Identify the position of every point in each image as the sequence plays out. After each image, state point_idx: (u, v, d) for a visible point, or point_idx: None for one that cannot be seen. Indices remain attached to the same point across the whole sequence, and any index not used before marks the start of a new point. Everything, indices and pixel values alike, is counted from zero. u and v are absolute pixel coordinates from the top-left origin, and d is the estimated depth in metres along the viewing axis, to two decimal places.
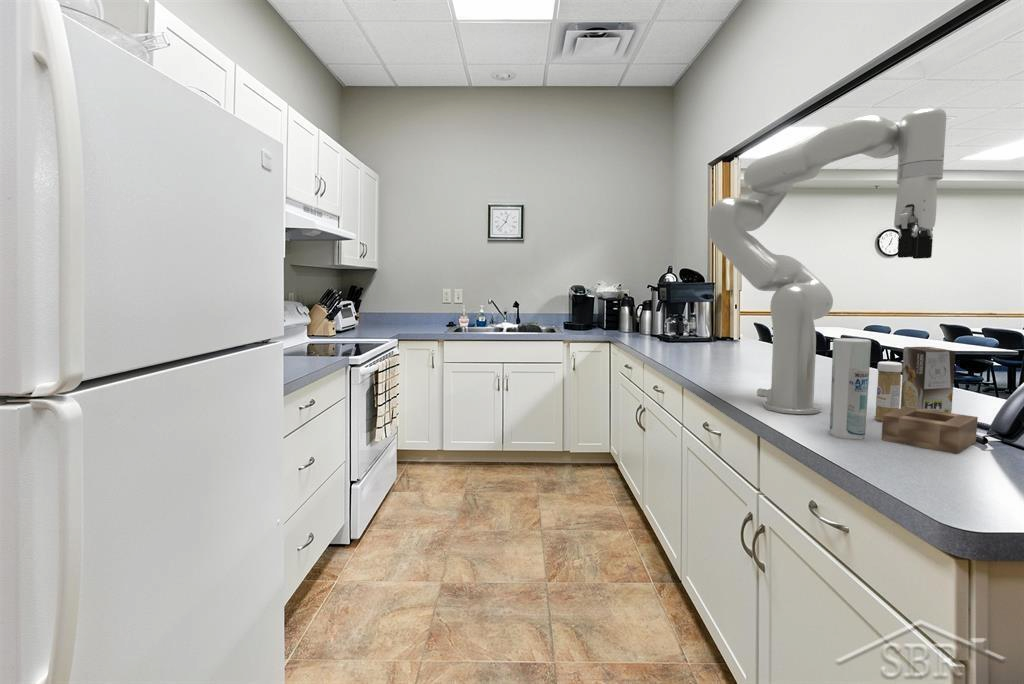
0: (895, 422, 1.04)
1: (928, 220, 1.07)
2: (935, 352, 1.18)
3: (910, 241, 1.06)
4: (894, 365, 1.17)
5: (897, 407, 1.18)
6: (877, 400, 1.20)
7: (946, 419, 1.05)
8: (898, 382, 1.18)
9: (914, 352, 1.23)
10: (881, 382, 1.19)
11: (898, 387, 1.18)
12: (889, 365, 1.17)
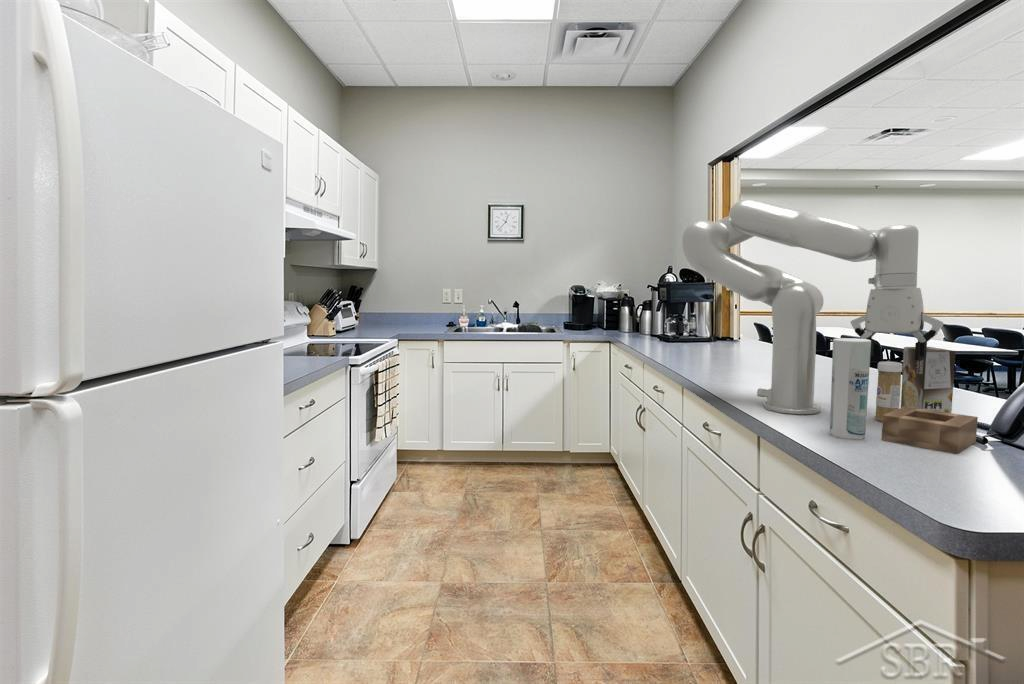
0: (895, 422, 1.04)
1: None
2: (935, 352, 1.18)
3: None
4: (894, 365, 1.17)
5: (897, 407, 1.18)
6: (877, 400, 1.20)
7: (946, 419, 1.05)
8: (898, 382, 1.18)
9: (914, 352, 1.23)
10: (881, 382, 1.19)
11: (898, 387, 1.18)
12: (889, 365, 1.17)
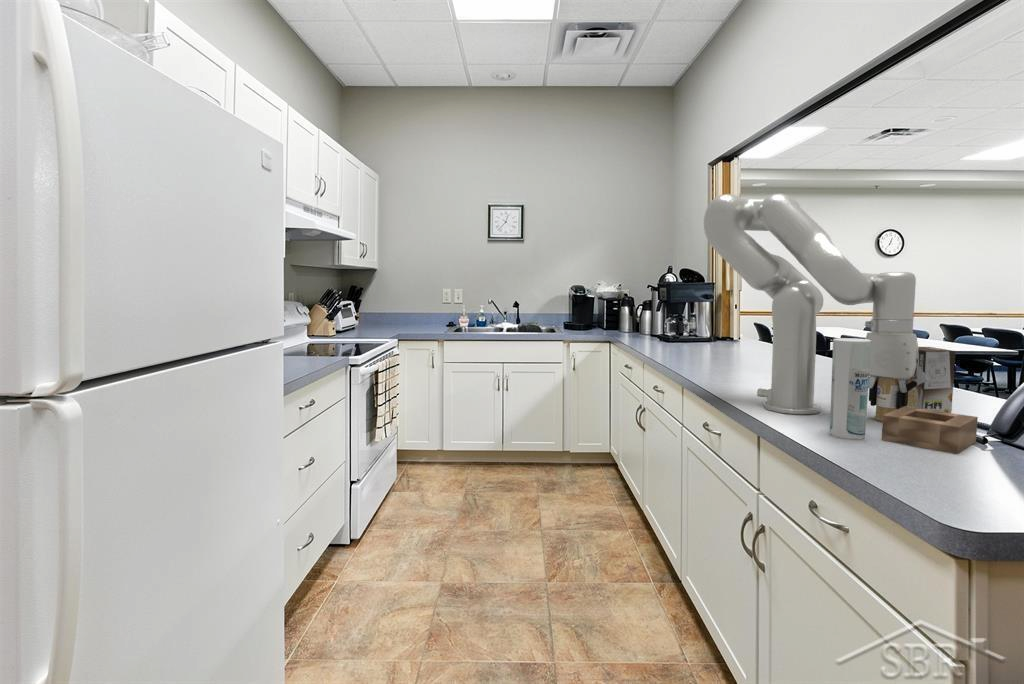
0: (895, 422, 1.04)
1: None
2: (935, 352, 1.18)
3: None
4: None
5: None
6: (877, 400, 1.20)
7: (946, 419, 1.05)
8: (898, 382, 1.18)
9: None
10: (881, 382, 1.19)
11: (898, 387, 1.18)
12: None
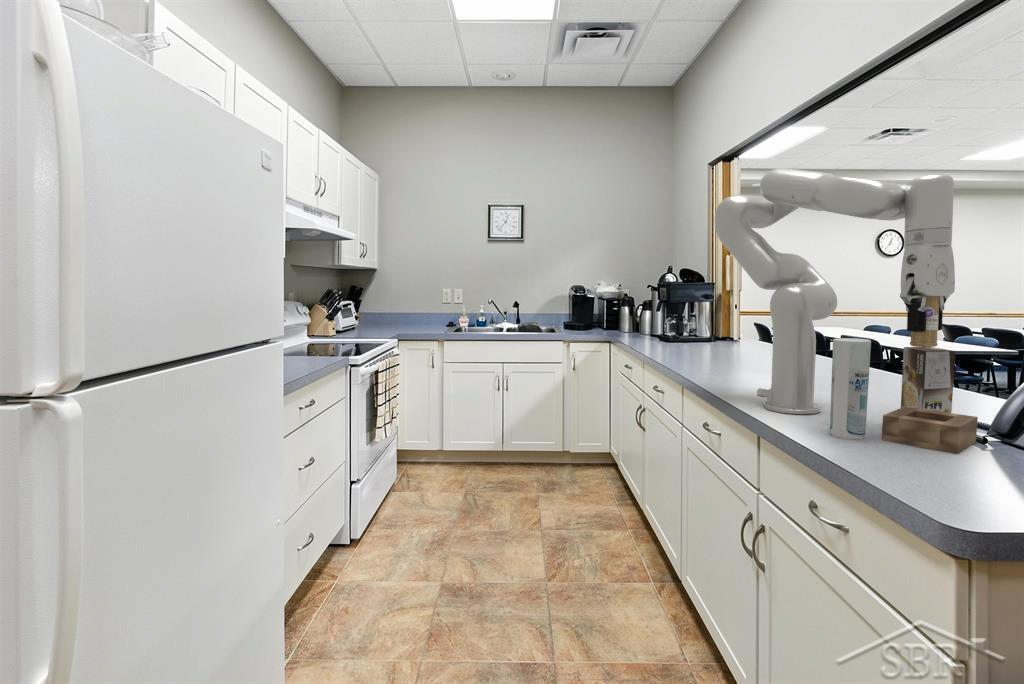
0: (895, 422, 1.04)
1: None
2: (935, 352, 1.18)
3: None
4: None
5: None
6: (927, 324, 1.05)
7: (946, 419, 1.05)
8: None
9: (914, 352, 1.23)
10: (933, 302, 1.04)
11: None
12: None
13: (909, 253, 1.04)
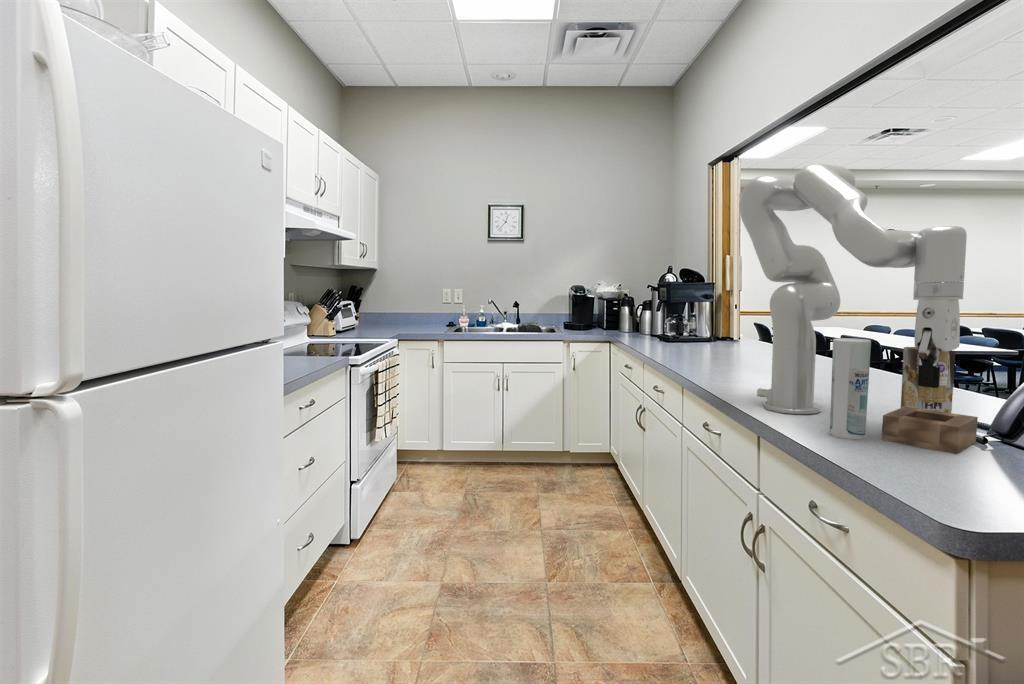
0: (895, 422, 1.04)
1: None
2: None
3: None
4: None
5: None
6: None
7: (946, 419, 1.05)
8: None
9: (914, 352, 1.23)
10: (945, 357, 1.01)
11: None
12: None
13: (925, 306, 1.00)
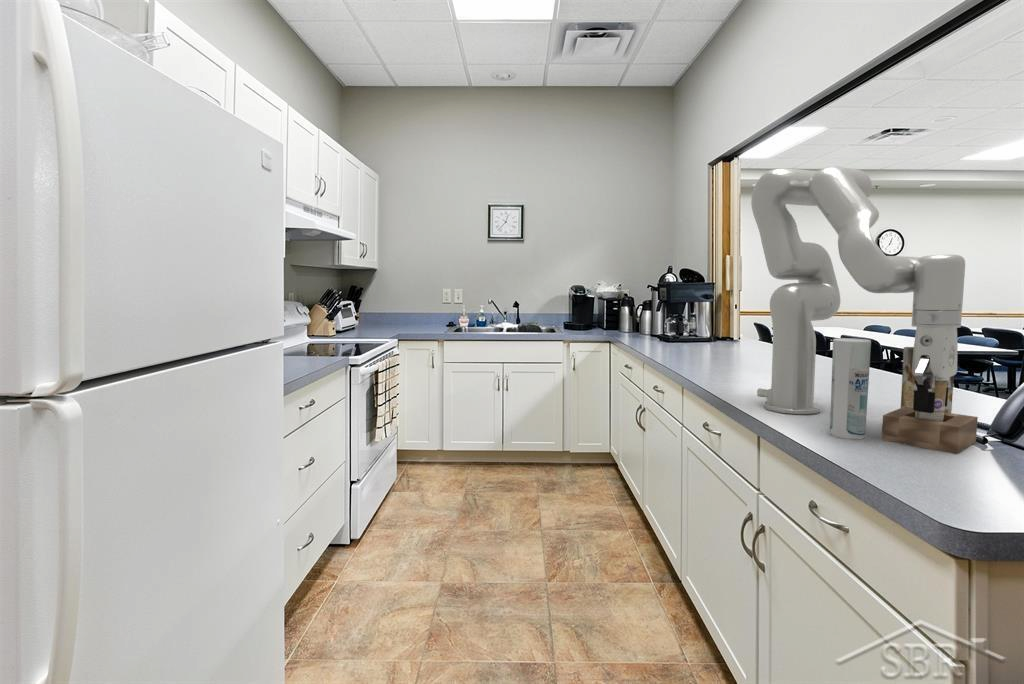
0: (895, 422, 1.04)
1: None
2: None
3: None
4: None
5: None
6: (936, 415, 1.02)
7: (946, 419, 1.05)
8: None
9: None
10: (943, 394, 1.01)
11: None
12: None
13: (923, 334, 1.00)
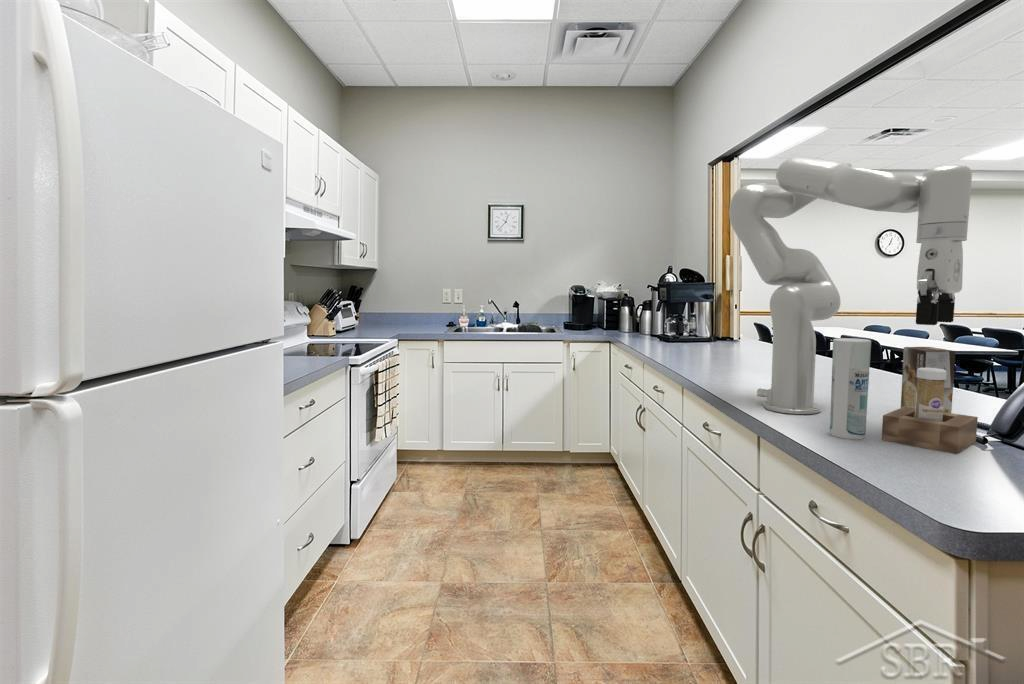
0: (895, 422, 1.04)
1: None
2: (935, 352, 1.18)
3: None
4: None
5: None
6: (935, 415, 1.02)
7: (946, 419, 1.05)
8: None
9: (914, 352, 1.23)
10: (941, 393, 1.02)
11: None
12: None
13: (928, 247, 0.98)
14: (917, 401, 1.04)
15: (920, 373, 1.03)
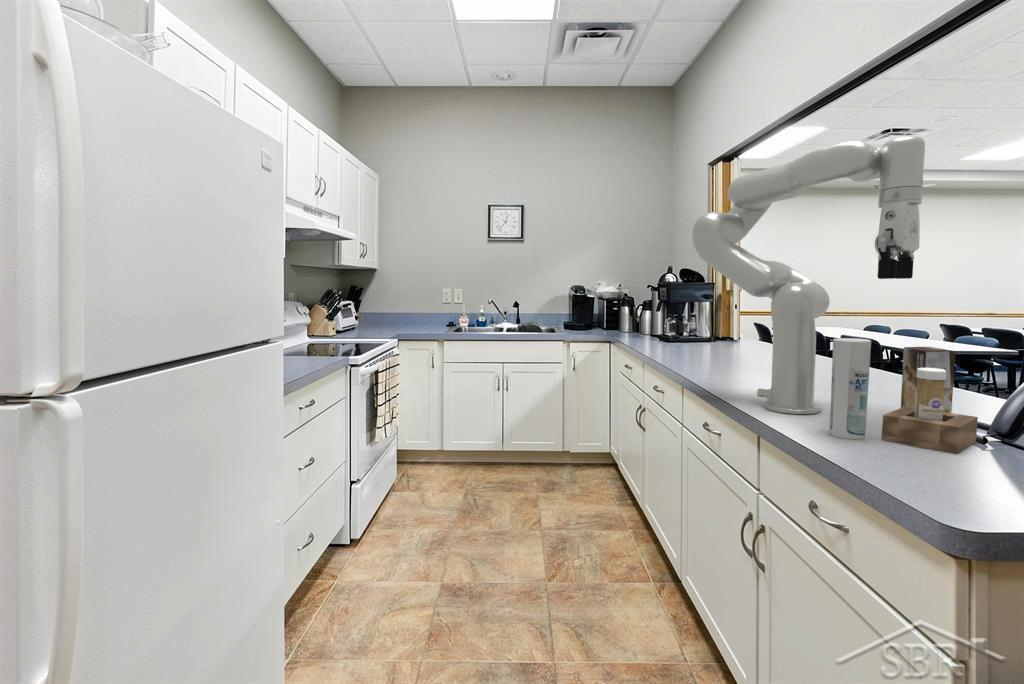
0: (895, 422, 1.04)
1: None
2: (935, 352, 1.18)
3: None
4: None
5: None
6: (935, 415, 1.02)
7: (946, 419, 1.05)
8: None
9: (914, 352, 1.23)
10: (941, 393, 1.02)
11: None
12: None
13: (887, 209, 1.11)
14: (917, 401, 1.04)
15: (920, 373, 1.03)
